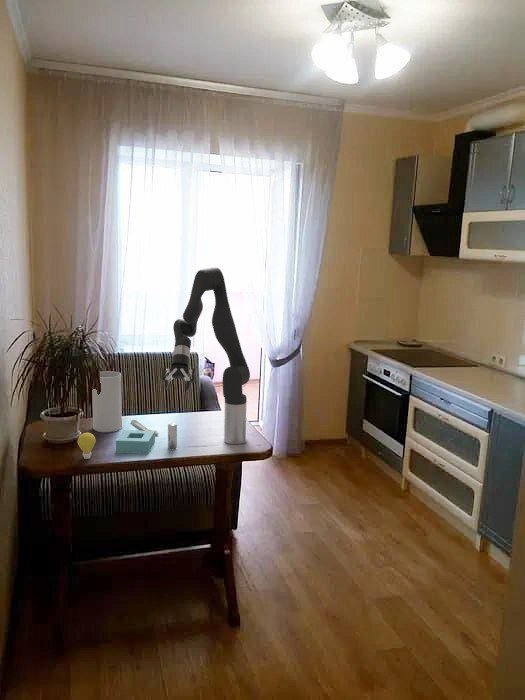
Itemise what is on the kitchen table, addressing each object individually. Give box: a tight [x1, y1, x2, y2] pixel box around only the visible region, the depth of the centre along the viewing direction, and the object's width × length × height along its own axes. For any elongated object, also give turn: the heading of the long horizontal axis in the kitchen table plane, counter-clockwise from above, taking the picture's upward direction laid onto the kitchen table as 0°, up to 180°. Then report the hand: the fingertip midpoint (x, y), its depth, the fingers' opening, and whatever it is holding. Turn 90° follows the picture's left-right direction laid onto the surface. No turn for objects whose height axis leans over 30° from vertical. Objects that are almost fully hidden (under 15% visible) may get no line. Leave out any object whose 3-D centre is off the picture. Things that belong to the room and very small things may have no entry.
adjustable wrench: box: [130, 419, 159, 437], centre depth 254 cm, size 25×6×2 cm, turn 29°
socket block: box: [115, 429, 156, 454], centre depth 230 cm, size 13×13×5 cm
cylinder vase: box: [91, 370, 123, 433], centre depth 251 cm, size 12×12×25 cm
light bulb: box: [77, 432, 97, 460], centre depth 217 cm, size 7×7×10 cm
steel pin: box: [167, 423, 178, 451], centre depth 230 cm, size 4×4×10 cm
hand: (176, 389), depth 238 cm, fingers open, 8 cm apart
